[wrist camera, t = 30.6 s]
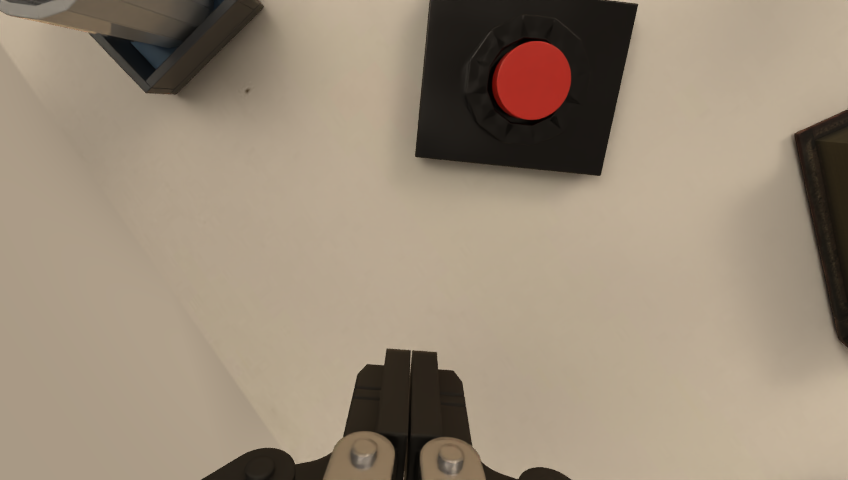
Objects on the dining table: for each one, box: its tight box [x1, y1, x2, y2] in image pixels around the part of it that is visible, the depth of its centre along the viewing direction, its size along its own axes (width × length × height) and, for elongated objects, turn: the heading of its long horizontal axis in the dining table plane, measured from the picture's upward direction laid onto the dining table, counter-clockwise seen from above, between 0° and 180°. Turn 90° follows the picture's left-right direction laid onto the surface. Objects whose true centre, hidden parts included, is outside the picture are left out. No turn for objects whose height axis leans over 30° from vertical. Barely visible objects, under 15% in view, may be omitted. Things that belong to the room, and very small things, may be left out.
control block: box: [415, 0, 638, 176], centre depth 27 cm, size 12×10×4 cm
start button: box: [492, 41, 571, 120], centre depth 24 cm, size 4×4×2 cm
